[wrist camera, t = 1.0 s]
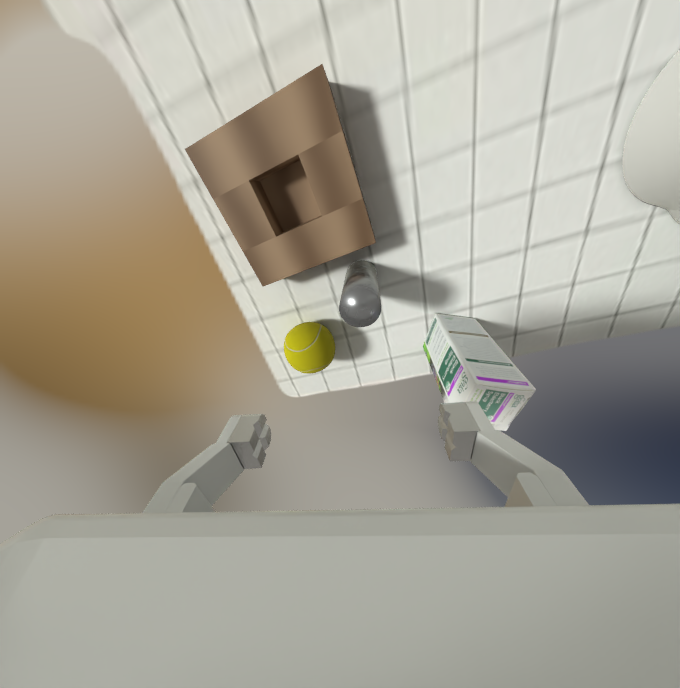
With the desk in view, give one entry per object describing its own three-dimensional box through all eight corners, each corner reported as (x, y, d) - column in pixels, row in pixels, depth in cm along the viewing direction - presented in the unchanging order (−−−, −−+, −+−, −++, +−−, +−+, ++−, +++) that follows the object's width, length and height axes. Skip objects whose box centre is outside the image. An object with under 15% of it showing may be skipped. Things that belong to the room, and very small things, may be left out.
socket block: (328, 81, 23) (322, 64, 19) (374, 235, 29) (375, 242, 26) (207, 153, 26) (184, 149, 23) (273, 276, 33) (262, 286, 30)
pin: (371, 255, 31) (373, 282, 22) (380, 284, 33) (386, 320, 24) (341, 266, 32) (332, 296, 23) (352, 294, 34) (347, 331, 25)
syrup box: (434, 311, 34) (472, 383, 22) (477, 317, 34) (539, 392, 22) (422, 346, 37) (449, 425, 25) (461, 351, 37) (508, 433, 25)
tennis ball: (283, 320, 37) (268, 346, 31) (328, 308, 35) (320, 333, 29) (302, 357, 40) (291, 387, 34) (343, 348, 39) (339, 377, 33)
